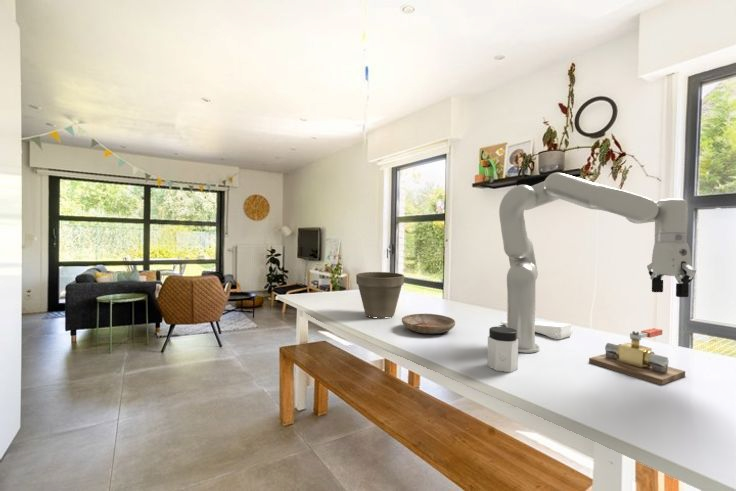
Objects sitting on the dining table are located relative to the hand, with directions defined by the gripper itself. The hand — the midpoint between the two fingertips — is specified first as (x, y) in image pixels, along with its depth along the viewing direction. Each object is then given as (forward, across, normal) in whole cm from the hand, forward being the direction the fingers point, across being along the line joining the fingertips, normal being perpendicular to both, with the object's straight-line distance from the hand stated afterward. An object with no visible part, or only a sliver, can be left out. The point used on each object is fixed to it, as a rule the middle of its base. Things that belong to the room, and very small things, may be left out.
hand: (669, 294), depth 111 cm
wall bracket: (+24, +45, +22) cm, 55 cm away
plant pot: (+23, +71, +90) cm, 117 cm away
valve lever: (+14, +3, +5) cm, 15 cm away
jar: (+23, -1, +51) cm, 56 cm away
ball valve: (+22, 0, +10) cm, 24 cm away
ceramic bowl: (+23, +44, +69) cm, 85 cm away
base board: (+24, 0, +10) cm, 26 cm away
